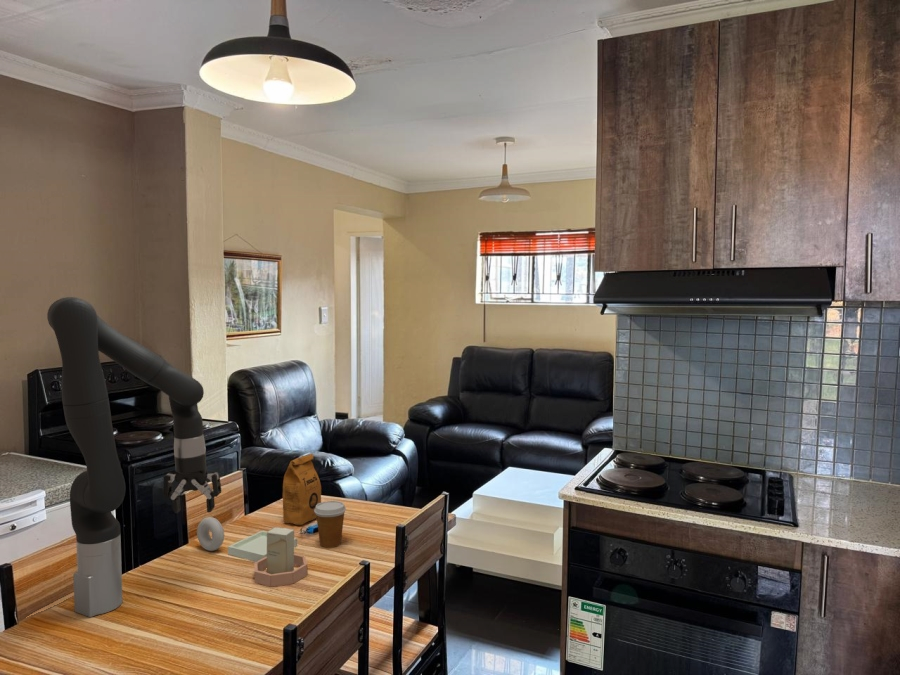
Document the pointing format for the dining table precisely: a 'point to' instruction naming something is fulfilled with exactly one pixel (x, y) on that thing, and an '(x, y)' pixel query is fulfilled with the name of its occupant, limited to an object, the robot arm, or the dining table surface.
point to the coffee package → (300, 491)
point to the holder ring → (280, 578)
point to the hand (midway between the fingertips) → (194, 511)
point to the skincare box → (280, 550)
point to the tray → (252, 547)
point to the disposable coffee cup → (330, 522)
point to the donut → (204, 534)
